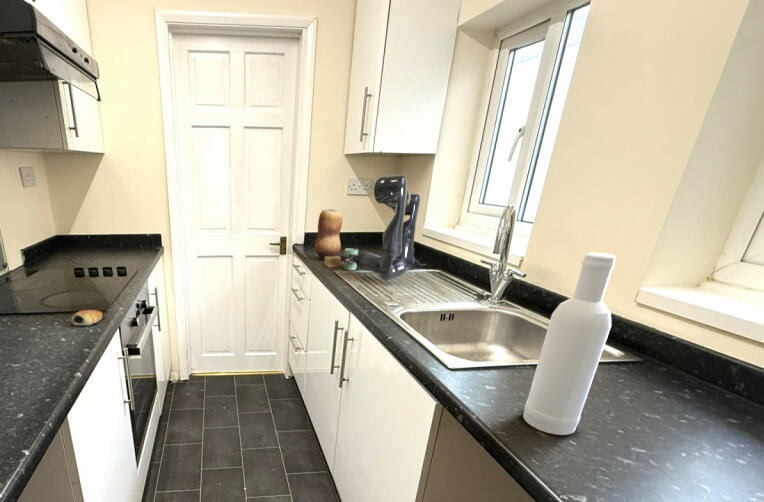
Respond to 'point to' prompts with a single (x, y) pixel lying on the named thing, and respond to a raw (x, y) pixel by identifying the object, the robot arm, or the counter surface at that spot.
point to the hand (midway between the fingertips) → (349, 255)
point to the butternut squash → (328, 233)
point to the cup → (351, 251)
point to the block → (333, 261)
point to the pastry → (86, 317)
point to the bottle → (571, 351)
